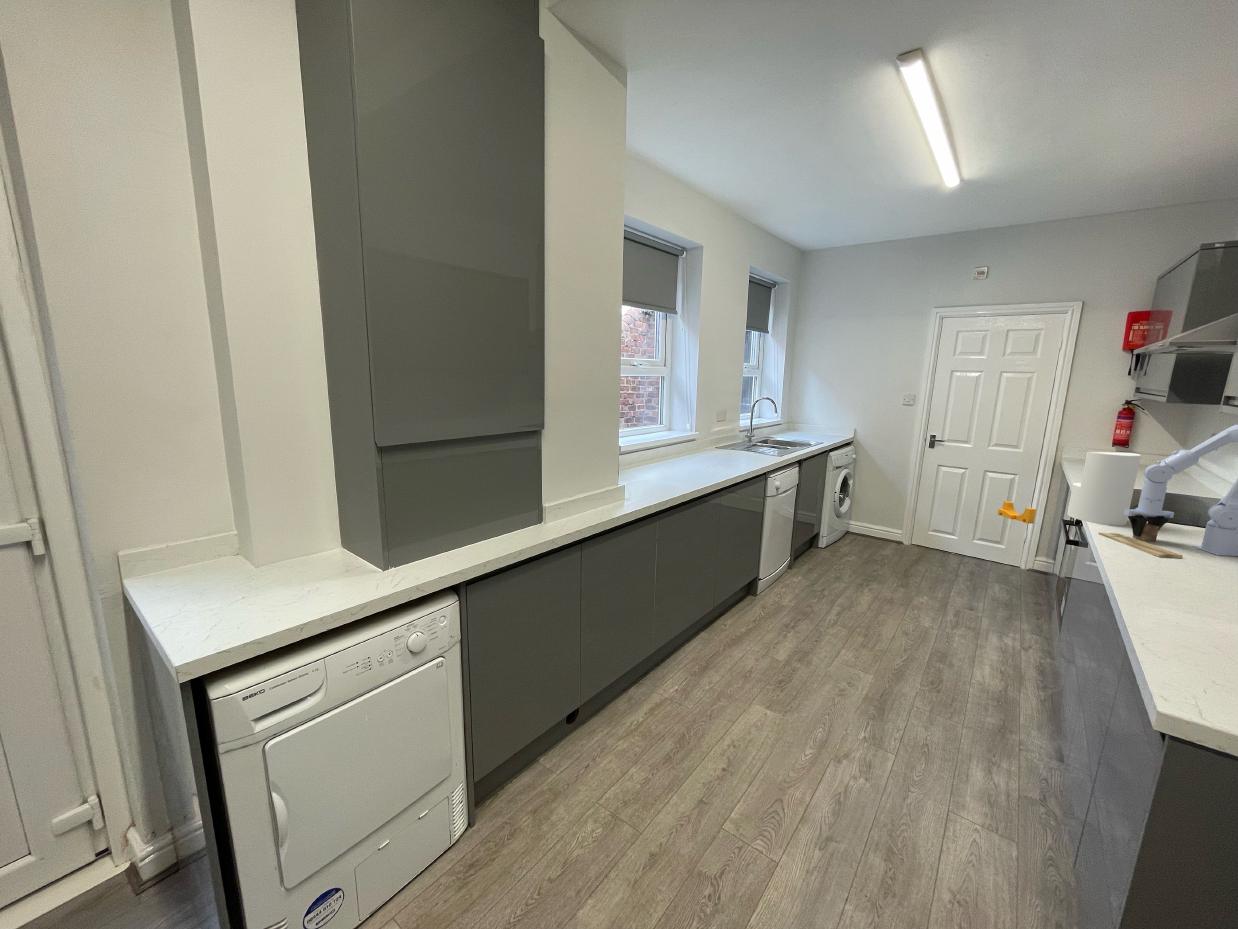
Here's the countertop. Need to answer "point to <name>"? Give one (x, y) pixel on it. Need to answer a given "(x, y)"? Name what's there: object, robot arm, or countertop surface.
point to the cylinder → (1105, 488)
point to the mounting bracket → (1012, 514)
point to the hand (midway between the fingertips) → (1143, 536)
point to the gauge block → (1148, 533)
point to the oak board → (1142, 545)
